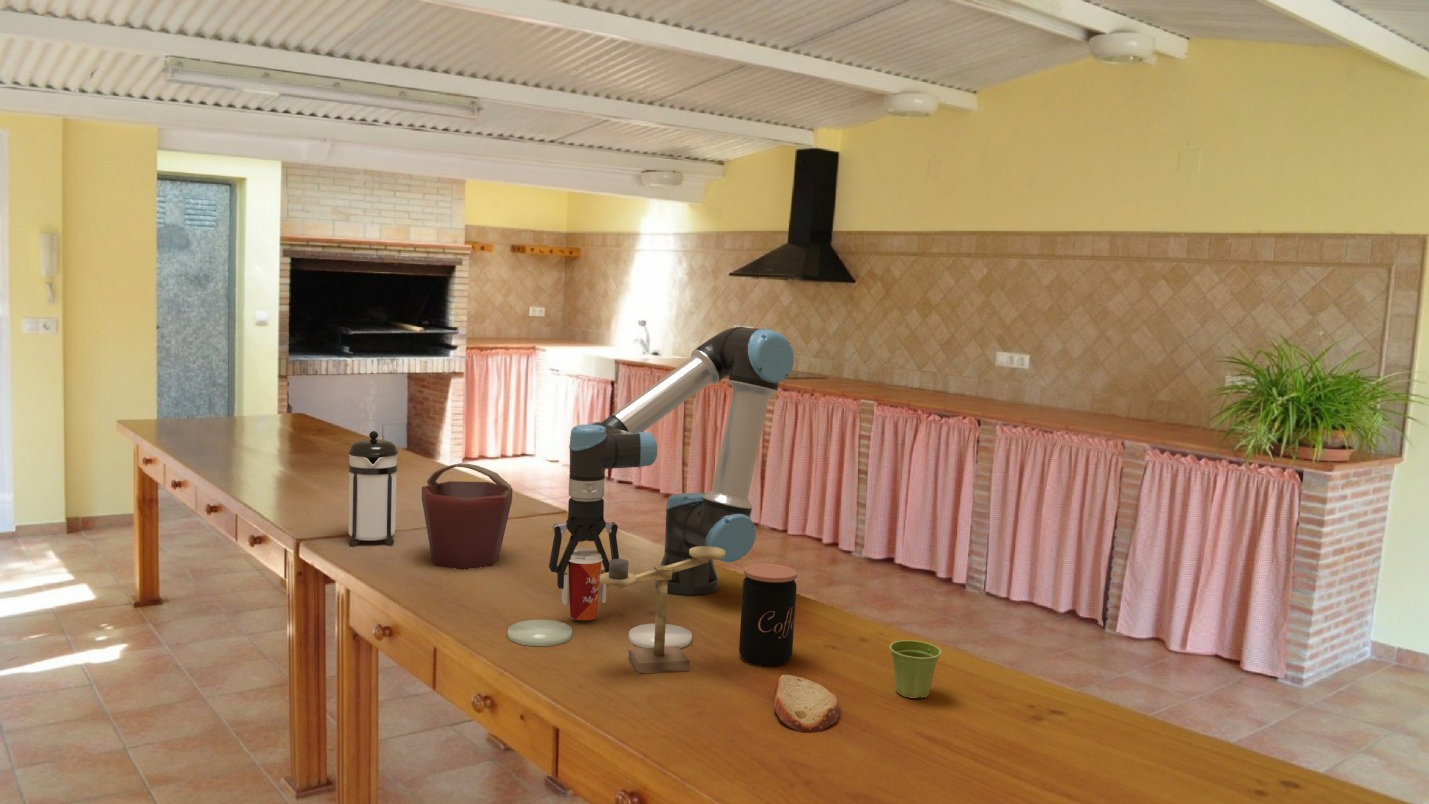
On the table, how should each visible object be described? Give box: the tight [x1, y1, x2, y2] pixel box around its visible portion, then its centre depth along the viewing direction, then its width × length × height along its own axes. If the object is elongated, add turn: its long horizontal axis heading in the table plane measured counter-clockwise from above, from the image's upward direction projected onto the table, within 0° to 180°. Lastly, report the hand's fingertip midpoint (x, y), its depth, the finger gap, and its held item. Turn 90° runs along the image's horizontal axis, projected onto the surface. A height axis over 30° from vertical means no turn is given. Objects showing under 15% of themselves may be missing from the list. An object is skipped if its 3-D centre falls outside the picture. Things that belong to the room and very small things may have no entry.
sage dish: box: [507, 619, 573, 647], centre depth 214 cm, size 13×13×1 cm
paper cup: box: [568, 548, 603, 621], centre depth 224 cm, size 8×8×14 cm
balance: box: [599, 546, 726, 675], centre depth 200 cm, size 24×8×22 cm, turn 108°
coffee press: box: [347, 430, 399, 547], centre depth 281 cm, size 17×16×30 cm
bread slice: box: [772, 674, 840, 734], centre depth 185 cm, size 18×18×4 cm
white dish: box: [628, 623, 693, 649], centre depth 216 cm, size 13×13×1 cm
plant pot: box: [889, 639, 942, 699], centre depth 193 cm, size 9×9×9 cm
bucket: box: [421, 462, 513, 571], centre depth 266 cm, size 24×22×25 cm
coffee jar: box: [738, 562, 798, 668], centre depth 207 cm, size 11×11×18 cm
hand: (583, 601), depth 225 cm, fingers closed on paper cup, 8 cm apart
